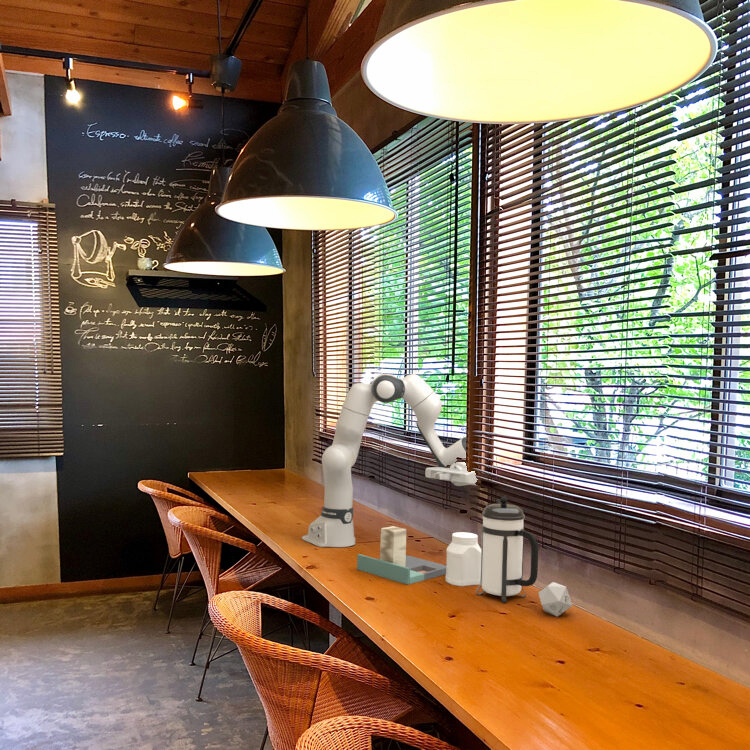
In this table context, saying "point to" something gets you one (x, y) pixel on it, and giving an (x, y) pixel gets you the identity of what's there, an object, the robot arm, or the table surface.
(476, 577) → the jar
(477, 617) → the table surface
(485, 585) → the coffee press
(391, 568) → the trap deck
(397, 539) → the maple block
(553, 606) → the die
